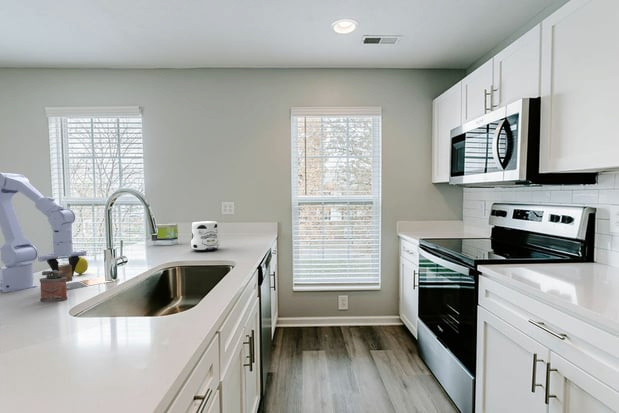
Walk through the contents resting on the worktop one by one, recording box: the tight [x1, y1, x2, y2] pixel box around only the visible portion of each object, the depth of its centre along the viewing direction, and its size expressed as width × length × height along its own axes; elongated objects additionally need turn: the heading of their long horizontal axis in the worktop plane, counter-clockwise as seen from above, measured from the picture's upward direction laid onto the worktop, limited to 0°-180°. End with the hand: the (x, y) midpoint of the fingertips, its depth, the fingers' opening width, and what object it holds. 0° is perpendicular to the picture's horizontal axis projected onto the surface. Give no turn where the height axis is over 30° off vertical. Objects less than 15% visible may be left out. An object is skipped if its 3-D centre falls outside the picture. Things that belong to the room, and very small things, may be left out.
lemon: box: [74, 256, 89, 275], centre depth 143 cm, size 6×6×8 cm
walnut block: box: [58, 263, 73, 283], centre depth 122 cm, size 4×4×6 cm
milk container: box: [190, 220, 220, 252], centre depth 206 cm, size 17×17×18 cm
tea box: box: [151, 223, 179, 246], centre depth 235 cm, size 15×10×15 cm, turn 84°
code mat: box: [39, 281, 89, 291], centre depth 123 cm, size 12×12×1 cm
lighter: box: [39, 270, 69, 303], centre depth 107 cm, size 8×3×10 cm, turn 92°
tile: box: [79, 276, 116, 287], centre depth 131 cm, size 9×11×1 cm
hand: (64, 277), depth 122 cm, fingers closed on walnut block, 4 cm apart
